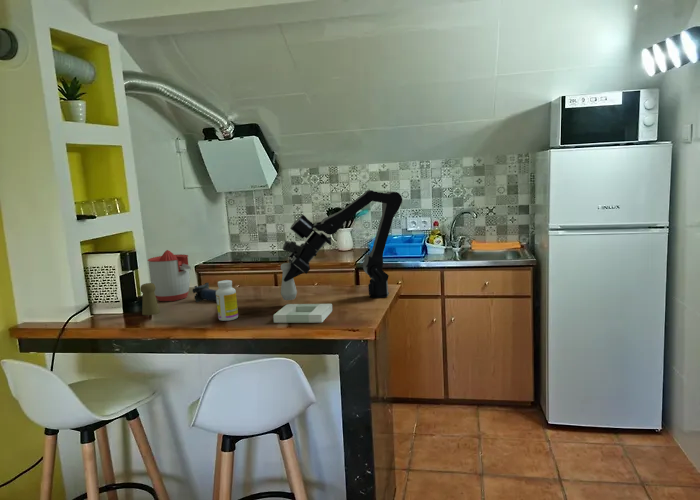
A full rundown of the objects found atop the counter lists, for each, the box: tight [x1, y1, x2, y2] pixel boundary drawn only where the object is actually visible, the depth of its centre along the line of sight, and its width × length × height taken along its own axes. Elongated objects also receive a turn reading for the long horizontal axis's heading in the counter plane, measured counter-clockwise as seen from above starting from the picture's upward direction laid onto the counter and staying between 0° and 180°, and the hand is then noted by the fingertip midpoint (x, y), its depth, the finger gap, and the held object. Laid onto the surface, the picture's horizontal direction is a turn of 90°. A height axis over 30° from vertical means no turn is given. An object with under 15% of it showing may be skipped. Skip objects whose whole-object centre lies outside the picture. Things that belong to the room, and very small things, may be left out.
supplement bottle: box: [216, 279, 239, 322], centre depth 184 cm, size 7×7×13 cm
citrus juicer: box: [147, 249, 192, 302], centre depth 221 cm, size 16×17×20 cm
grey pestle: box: [280, 262, 298, 301], centre depth 197 cm, size 6×6×13 cm
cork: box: [139, 282, 160, 316], centre depth 199 cm, size 6×6×11 cm
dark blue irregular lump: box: [192, 282, 218, 303], centre depth 214 cm, size 9×8×12 cm
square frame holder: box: [272, 303, 333, 324], centre depth 182 cm, size 16×14×2 cm
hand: (283, 280), depth 197 cm, fingers closed on grey pestle, 3 cm apart
